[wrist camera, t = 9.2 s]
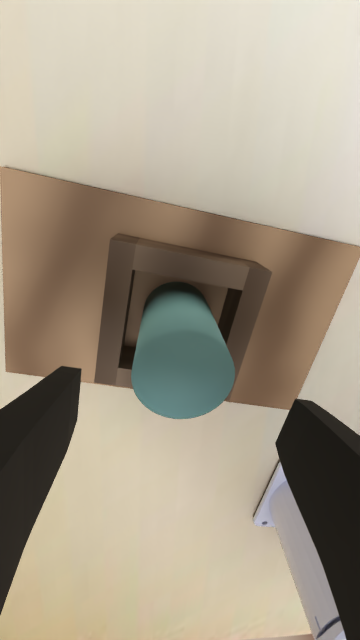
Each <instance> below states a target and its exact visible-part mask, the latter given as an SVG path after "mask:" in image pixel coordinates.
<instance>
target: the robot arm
mask: <svg viewBox="0 0 360 640" xmlns="http://www.w3.org/2000/svg"><path fill="white" fill-rule="evenodd" d="M81 370H82V369H81V368H74V367H67V366H60V367H59V368H57V369H56V370H55V371H53V372H52V373H51V374H49V375H48V376H47V377H45V378H44V379H43V380H41V381H40V382H39V383H37V384H36V385H34V386H33V387H32V388H30V389H29V390H28V391H26V392H25V393H23V394H22V395H20V396H19V397H18V398H16V399H15V400H13V401H12V402H10V403H9V404H8V405H6V406H5V407H3V408H2V409H0V615H1V612H2V609H3V606H4V603H5V600H6V597H7V594H8V592H9V589H10V586H11V583H12V580H13V578H14V575H15V572H16V569H17V567H18V564H19V561H20V558H21V555H22V553H23V550H24V547H25V545H26V542H27V540H28V538H29V535H30V533H31V530H32V528H33V526H34V523H35V521H36V519H37V517H38V515H39V512H40V510H41V508H42V506H43V503H44V501H45V499H46V497H47V495H48V492H49V490H50V488H51V486H52V484H53V481H54V479H55V477H56V475H57V472H58V470H59V468H60V466H61V463H62V461H63V459H64V457H65V454H66V452H67V450H68V447H69V443H70V440H71V437H72V434H73V431H74V428H75V425H76V422H77V415H78V404H79V393H80V382H81ZM275 444H276V447H277V451H278V455H279V459H280V462H279V464H278V466H277V468H276V470H275V472H274V475H273V477H272V479H271V481H270V483H269V485H268V488H267V490H266V492H265V494H264V496H263V498H262V500H261V503H260V505H259V507H258V509H257V511H256V513H255V516H254V518H253V521H254V524H255V525H256V526H266V527H275V528H276V531H277V533H278V536H279V539H280V542H281V545H282V548H283V551H284V554H285V557H286V559H287V562H288V565H289V568H290V571H291V574H292V577H293V580H294V583H295V585H296V588H297V591H298V594H299V597H300V600H301V603H302V606H303V609H304V611H305V614H306V617H307V620H308V623H309V626H310V629H311V632H312V635H313V637H314V640H360V436H359V435H358V434H357V433H355V432H354V431H353V430H351V429H350V428H349V427H347V426H346V425H345V424H343V423H342V422H341V421H339V420H338V419H337V418H335V417H334V416H333V415H331V414H330V413H329V412H327V411H326V410H324V409H323V408H321V407H320V406H318V405H317V404H315V403H314V402H312V401H308V400H301V399H295V400H294V402H293V404H292V407H291V409H290V411H289V413H288V416H287V418H286V420H285V422H284V425H283V427H282V429H281V432H280V434H279V436H278V438H277V441H276V443H275Z"/></svg>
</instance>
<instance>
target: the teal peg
mask: <svg viewBox="0 0 360 640" xmlns="http://www.w3.org/2000/svg"><path fill="white" fill-rule="evenodd" d="M234 379H235V367H234V363H233V360H232V357H231V355H230V353H229V350H228V348H227V346H226V344H225V341H224V339H223V337H222V335H221V333H220V330H219V328H218V326H217V324H216V321H215V319H214V317H213V315H212V312H211V310H210V308H209V306H208V303H207V301H206V299H205V297H204V296H203V294H202V293H201V292H200V291H199V290H198V289H197V288H196V287H194V286H192V285H190V284H188V283H184V282H169V283H165V284H163V285H160V286H159V287H157V288H156V289H154V290H153V291H152V292H151V293H150V295H149V296H148V298H147V299H146V302H145V305H144V309H143V314H142V319H141V325H140V330H139V335H138V340H137V345H136V351H135V356H134V361H133V366H132V372H131V381H132V386H133V389H134V392H135V394H136V396H137V397H138V399H139V400H140V401H141V403H142V404H143V405H145V406H146V407H147V408H148V409H150V410H151V411H153V412H154V413H156V414H159V415H161V416H164V417H168V418H173V419H188V418H194V417H198V416H201V415H204V414H206V413H208V412H210V411H212V410H213V409H215V408H216V407H218V406H219V405H220V404H221V403H222V402H223V401H224V400H225V399H226V397H227V396H228V394H229V393H230V391H231V389H232V386H233V383H234Z"/></svg>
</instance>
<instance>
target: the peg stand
mask: <svg viewBox="0 0 360 640" xmlns="http://www.w3.org/2000/svg"><path fill="white" fill-rule="evenodd" d="M0 186H1V221H2V256H3V291H4V326H5V361H6V372H12V373H19V374H27V375H34V376H42V377H47V376H48V375H49V374H51V373H52V372H53V371H55V370H56V369H57V368H59V367H60V366H67V367H74V368H81V369H82V370H81V382H86V383H94V384H101V385H109V386H116V387H123V388H131V389H133V386H132V381H131V372H132V366H133V361H134V356H135V351H136V345H137V340H138V335H139V330H140V325H141V319H142V314H143V309H144V305H145V302H146V299H147V298H148V296H149V295H150V293H151V292H152V291H153V290H154V289H156V288H157V287H159V286H160V285H163V284H165V283H169V282H184V283H188V284H190V285H192V286H194V287H196V288H197V289H198V290H199V291H200V292H201V293H202V294H203V296H204V297H205V299H206V301H207V303H208V306H209V308H210V310H211V312H212V315H213V317H214V319H215V321H216V324H217V326H218V328H219V330H220V333H221V335H222V337H223V339H224V341H225V344H226V346H227V348H228V350H229V353H230V355H231V357H232V360H233V363H234V367H235V379H234V383H233V386H232V389H231V391H230V393H229V394H228V396H227V397H226V399H225V400H224V401H228V402H235V403H242V404H250V405H257V406H265V407H272V408H280V409H287V410H290V409H291V407H292V404H293V402H294V400H295V399H297V397H298V395H299V393H300V390H301V388H302V386H303V384H304V381H305V379H306V377H307V375H308V372H309V370H310V368H311V366H312V363H313V361H314V359H315V357H316V354H317V352H318V350H319V348H320V345H321V343H322V341H323V339H324V336H325V334H326V332H327V330H328V327H329V325H330V323H331V321H332V318H333V316H334V314H335V312H336V309H337V307H338V305H339V303H340V300H341V298H342V296H343V294H344V291H345V289H346V287H347V285H348V282H349V280H350V278H351V276H352V273H353V271H354V269H355V267H356V264H357V262H358V260H359V258H360V247H358V246H353V245H349V244H344V243H340V242H336V241H331V240H327V239H322V238H318V237H313V236H309V235H304V234H300V233H295V232H291V231H286V230H282V229H278V228H273V227H269V226H264V225H260V224H255V223H251V222H246V221H242V220H237V219H233V218H228V217H224V216H220V215H215V214H211V213H206V212H202V211H197V210H193V209H188V208H184V207H179V206H175V205H170V204H166V203H162V202H157V201H153V200H148V199H144V198H139V197H135V196H130V195H126V194H121V193H117V192H112V191H108V190H104V189H99V188H95V187H90V186H86V185H81V184H77V183H72V182H68V181H63V180H59V179H54V178H50V177H46V176H41V175H37V174H32V173H28V172H23V171H19V170H14V169H10V168H5V167H1V166H0Z"/></svg>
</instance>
